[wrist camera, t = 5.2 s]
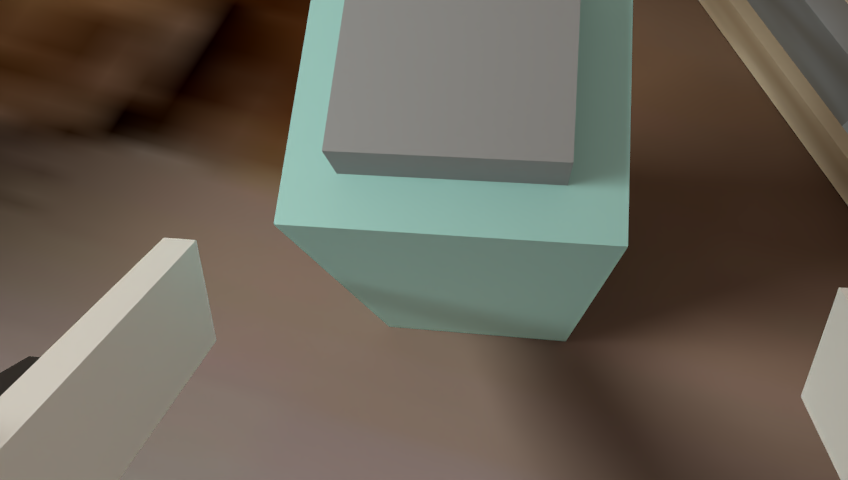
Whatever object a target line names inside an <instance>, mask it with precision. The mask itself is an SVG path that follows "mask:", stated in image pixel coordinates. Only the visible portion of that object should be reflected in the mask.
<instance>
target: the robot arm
mask: <svg viewBox="0 0 848 480" xmlns="http://www.w3.org/2000/svg"><path fill="white" fill-rule="evenodd" d="M215 342H216V336H215V331H214V326H213V321H212V316H211V311H210V306H209V301H208V296H207V291H206V286H205V281H204V276H203V271H202V266H201V261H200V256H199V251H198V246H197V241H196V240H188V239H175V238H163V239H162V240H161V241H160V242H159V243H158V244H157V245H156V246H155V247H154V248H153V249H152V250H151V251H150V252H149V253H147V254H146V255H145V256H144V257H143V258H142V259H141V260H140V261H139V262H138V263H137V264H136V265H135V266H134V267H133V268H132V269H131V270H130V271H129V272H128V273H127V274H126V275H125V276H124V277H123V278H122V279H121V280H120V281H119V282H118V283H117V284H115V285H114V286H113V287H112V288H111V289H110V290H109V291H108V292H107V293H106V294H105V295H104V296H103V297H102V298H101V299H100V300H99V301H98V302H97V303H96V304H95V305H94V306H93V307H92V308H91V309H90V310H89V311H88V312H87V313H86V314H85V315H84V316H82V317H81V318H80V319H79V320H78V321H77V322H76V323H75V324H74V325H73V326H72V327H71V328H70V329H69V330H68V331H67V332H66V333H65V334H64V335H63V336H62V337H61V338H60V339H59V340H58V341H57V342H56V343H55V344H54V345H53V346H52V347H51V348H49V349H48V350H47V351H46V352H45V353H44V354H43V355H42V356H41V357H31V356H29V357H27V358H25V359H24V360H22V361H20V362H18V363H17V364H15V365H13V366H12V367H10V368H8V369H6V370H5V371H3V372H1V373H0V480H119V479H120V478H121V477H122V475H123V474H124V472H125V471H126V469H127V468H128V467H129V465H130V464H131V462H132V461H133V459H134V458H135V457H136V455H137V454H138V452H139V451H140V449H141V448H142V446H143V445H144V444H145V442H146V441H147V439H148V438H149V436H150V435H151V434H152V432H153V431H154V429H155V428H156V426H157V425H158V424H159V422H160V421H161V419H162V418H163V416H164V415H165V413H166V412H167V411H168V409H169V408H170V406H171V405H172V403H173V402H174V401H175V399H176V398H177V396H178V395H179V393H180V392H181V391H182V389H183V388H184V386H185V385H186V383H187V382H188V380H189V379H190V378H191V376H192V375H193V373H194V372H195V370H196V369H197V368H198V366H199V365H200V363H201V362H202V360H203V359H204V358H205V356H206V355H207V353H208V352H209V350H210V349H211V348H212V346H213V345H214V343H215ZM801 398H802V400H803V402H804V404H805V406H806V408H807V411H808V413H809V415H810V417H811V419H812V421H813V423H814V425H815V427H816V429H817V432H818V434H819V436H820V438H821V440H822V442H823V444H824V446H825V448H826V450H827V452H828V455H829V457H830V459H831V461H832V463H833V465H834V467H835V469H836V471H837V473H838V475H839V478H840V480H848V288H841V287H839V289H838V291H837V294H836V297H835V300H834V303H833V306H832V309H831V311H830V314H829V317H828V320H827V323H826V326H825V329H824V331H823V334H822V337H821V340H820V343H819V346H818V349H817V352H816V354H815V357H814V360H813V363H812V366H811V369H810V372H809V374H808V377H807V380H806V383H805V386H804V389H803V392H802V395H801Z"/></svg>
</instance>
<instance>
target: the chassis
mask: <svg viewBox="0 0 848 480" xmlns="http://www.w3.org/2000/svg"><path fill="white" fill-rule="evenodd" d="M698 1H699V2H700V3H701V5H702V6H703V7H704V9H705V10H706V12H707V13H708V14H709V16H710V17H711V18H712V20H713V21H714V23H715V24H716V25H717V27H718V28H719V29H720V31H721V32H722V34H723V35H724V36H725V38H726V39H727V40H728V42H729V43H730V45H731V46H732V47H733V49H734V50H735V51H736V53H737V54H738V56H739V57H740V58H741V60H742V61H743V62H744V64H745V65H746V67H747V68H748V69H749V71H750V72H751V73H752V75H753V76H754V78H755V79H756V80H757V82H758V83H759V84H760V86H761V87H762V89H763V90H764V91H765V93H766V94H767V95H768V97H769V98H770V100H771V101H772V102H773V104H774V105H775V106H776V108H777V109H778V111H779V112H780V113H781V115H782V116H783V117H784V119H785V120H786V122H787V123H788V124H789V126H790V127H791V128H792V130H793V131H794V133H795V134H796V135H797V137H798V138H799V139H800V141H801V142H802V144H803V145H804V146H805V148H806V149H807V150H808V152H809V153H810V155H811V156H812V157H813V159H814V160H815V161H816V163H817V164H818V166H819V167H820V168H821V170H822V171H823V172H824V174H825V175H826V177H827V178H828V179H829V181H830V182H831V183H832V185H833V186H834V188H835V189H836V190H837V192H838V193H839V194H840V196H841V197H842V199H843V200H844V201H845V203H846V204H847V205H848V0H698Z"/></svg>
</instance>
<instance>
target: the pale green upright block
mask: <svg viewBox="0 0 848 480" xmlns="http://www.w3.org/2000/svg"><path fill="white" fill-rule="evenodd" d="M632 27H633V0H311V2H310V8H309V14H308V20H307V26H306V32H305V38H304V44H303V50H302V56H301V62H300V68H299V74H298V80H297V86H296V92H295V98H294V104H293V110H292V116H291V123H290V129H289V135H288V141H287V147H286V153H285V159H284V165H283V171H282V177H281V183H280V189H279V195H278V201H277V207H276V213H275V219H274V225H275V226H276V227H277V228H278V229H279V230H281V231H282V232H283V233H284V234H285V235H286V236H287V237H289V238H290V239H291V240H292V241H293V242H294V243H295V244H296V245H298V246H299V247H300V248H301V249H302V250H303V251H304V252H305V253H307V254H308V255H309V256H310V257H311V258H312V259H313V260H315V261H316V262H317V263H318V264H319V265H320V266H321V267H322V268H324V269H325V270H326V271H327V272H328V273H329V274H330V275H332V276H333V277H334V278H335V279H336V280H337V281H338V282H339V283H341V284H342V285H343V286H344V287H345V288H346V289H347V290H348V291H350V292H351V293H352V294H353V295H354V296H355V297H356V298H358V299H359V300H360V301H361V302H362V303H363V304H364V305H365V306H367V307H368V308H369V309H370V310H371V311H372V312H373V313H374V314H376V315H377V316H378V317H379V318H380V319H381V320H382V321H384V322H385V323H386V324H387V325H388V326H389V327H400V328H412V329H424V330H436V331H448V332H460V333H472V334H484V335H496V336H508V337H520V338H532V339H544V340H556V341H566V340H567V339H568V337H569V336H570V334H571V333H572V331H573V330H574V328H575V327H576V325H577V324H578V322H579V321H580V319H581V317H582V316H583V314H584V313H585V311H586V310H587V308H588V307H589V305H590V304H591V302H592V301H593V299H594V298H595V296H596V295H597V293H598V292H599V290H600V289H601V287H602V286H603V284H604V283H605V281H606V280H607V278H608V276H609V275H610V273H611V272H612V270H613V269H614V267H615V266H616V264H617V263H618V261H619V260H620V258H621V257H622V255H623V254H624V252H625V251H626V249H627V248H628V227H629V177H630V127H631V77H632Z"/></svg>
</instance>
